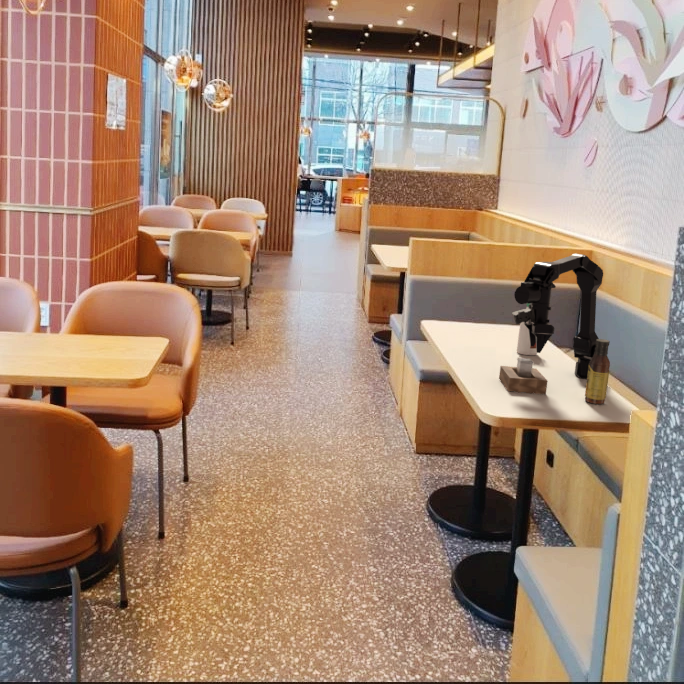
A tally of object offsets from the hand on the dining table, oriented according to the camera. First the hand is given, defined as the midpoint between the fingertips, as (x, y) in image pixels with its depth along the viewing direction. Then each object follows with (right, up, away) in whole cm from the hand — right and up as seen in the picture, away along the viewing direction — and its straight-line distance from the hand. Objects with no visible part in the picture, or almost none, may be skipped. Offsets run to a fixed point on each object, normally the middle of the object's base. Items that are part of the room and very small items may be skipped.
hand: (535, 349), depth 272 cm
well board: (-4, -12, +1) cm, 13 cm away
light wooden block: (-4, -12, +1) cm, 13 cm away
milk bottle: (+9, -2, +54) cm, 54 cm away
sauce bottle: (+16, -17, -11) cm, 25 cm away
